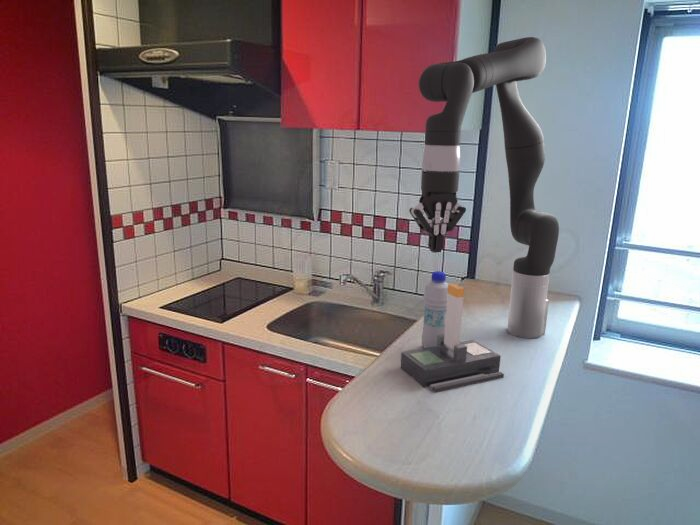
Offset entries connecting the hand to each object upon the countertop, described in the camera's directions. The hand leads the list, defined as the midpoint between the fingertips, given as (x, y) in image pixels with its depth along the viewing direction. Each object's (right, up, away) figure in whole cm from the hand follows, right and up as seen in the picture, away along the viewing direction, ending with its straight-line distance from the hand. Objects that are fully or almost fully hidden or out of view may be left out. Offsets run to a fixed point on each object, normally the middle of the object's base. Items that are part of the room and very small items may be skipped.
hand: (435, 251), depth 110 cm
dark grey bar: (+8, -28, +3) cm, 30 cm away
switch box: (+5, -27, +9) cm, 29 cm away
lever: (+5, -22, +8) cm, 23 cm away
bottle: (+3, -24, +21) cm, 32 cm away
